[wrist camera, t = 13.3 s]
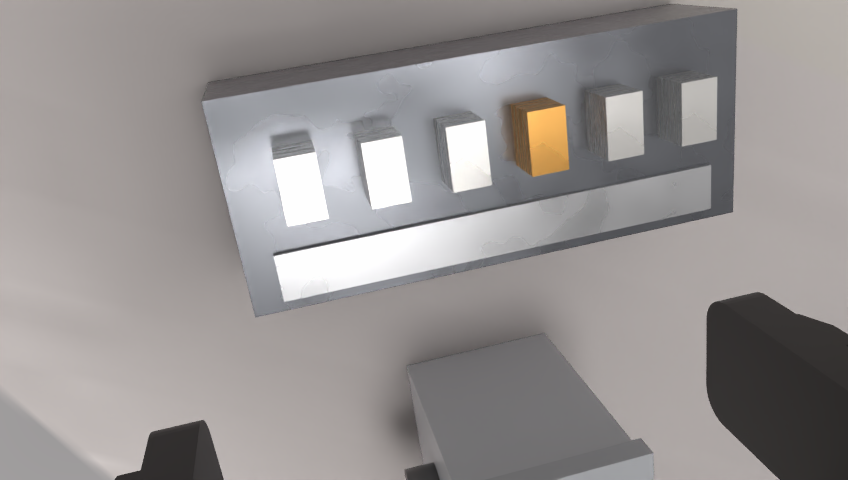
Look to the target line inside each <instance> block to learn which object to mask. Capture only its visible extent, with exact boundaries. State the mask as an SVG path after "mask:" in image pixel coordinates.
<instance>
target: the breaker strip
mask: <svg viewBox="0 0 848 480" xmlns="http://www.w3.org/2000/svg"><path fill="white" fill-rule="evenodd" d="M736 38H737V9H733V8H720V7H706V6H693V5H680V4H668V5H662V6H656V7H650V8H644V9H638V10H632V11H626V12H620V13H615V14H609V15H603V16H597V17H591V18H585V19H579V20H573V21H567V22H561V23H556V24H550V25H544V26H538V27H532V28H526V29H520V30H514V31H508V32H502V33H497V34H491V35H485V36H479V37H473V38H467V39H461V40H455V41H449V42H443V43H438V44H432V45H426V46H420V47H414V48H408V49H402V50H396V51H390V52H384V53H379V54H373V55H367V56H361V57H355V58H349V59H343V60H337V61H331V62H325V63H320V64H314V65H308V66H302V67H296V68H290V69H284V70H278V71H272V72H266V73H260V74H255V75H249V76H243V77H237V78H231V79H225V80H219V81H213V82H209V83H208V85H207V88H206V91H205V93H204V96H203V99H202V101H201V102H202V106H203V110H204V114H205V118H206V122H207V126H208V130H209V134H210V138H211V142H212V146H213V150H214V154H215V158H216V162H217V166H218V170H219V174H220V178H221V182H222V186H223V190H224V194H225V198H226V202H227V206H228V210H229V214H230V218H231V222H232V226H233V230H234V234H235V238H236V242H237V246H238V250H239V254H240V258H241V262H242V266H243V270H244V274H245V278H246V282H247V286H248V290H249V294H250V298H251V302H252V306H253V310H254V314H255V317H259V316H264V315H268V314H273V313H277V312H282V311H286V310H291V309H295V308H300V307H304V306H309V305H314V304H318V303H323V302H327V301H332V300H336V299H341V298H345V297H350V296H354V295H359V294H363V293H368V292H372V291H377V290H382V289H386V288H391V287H395V286H400V285H404V284H409V283H413V282H418V281H422V280H427V279H431V278H436V277H441V276H445V275H450V274H454V273H459V272H463V271H468V270H472V269H477V268H481V267H486V266H490V265H495V264H499V263H504V262H509V261H513V260H518V259H522V258H527V257H531V256H536V255H540V254H545V253H549V252H554V251H558V250H563V249H568V248H572V247H577V246H581V245H586V244H590V243H595V242H599V241H604V240H608V239H613V238H617V237H622V236H627V235H631V234H636V233H640V232H645V231H649V230H654V229H658V228H663V227H667V226H672V225H676V224H681V223H685V222H690V221H695V220H699V219H704V218H708V217H713V216H717V215H722V214H726V213H731V212H733V182H734V134H735V86H736Z"/></svg>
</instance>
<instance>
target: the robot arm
mask: <svg viewBox="0 0 848 480" xmlns="http://www.w3.org/2000/svg"><path fill="white" fill-rule="evenodd" d="M706 384H707V393H708V398H709V401H710V404H711V406H712V409H713V411H714V413H715V415H716V416H717V418H718V419H719V421H720V422H721V423H722V424H723V425H724V426H725V427H726V428H727V429H728V430H729V431H730V432H731V433H732V434H733V435H734V436H735V437H736V438H737V439H738V440H739V441H740V442H741V443H742V444H743V445H744V446H745V447H747V448H748V449H749V450H750V451H751V452H752V453H753V454H754V455H755V456H756V457H757V458H758V459H759V460H760V461H761V462H762V463H763V464H764V465H765V466H766V467H767V468H768V469H769V470H770V471H771V472H772V473H773V474H774V475H775V476H776V477H778V478H779V479H780V480H848V334H846V333H845V332H843V331H842V330H840V329H838V328H837V327H835V326H833V325H830V324H827V323H824V322H821V321H818V320H815V319H812V318H809V317H806V316H803V315H800V314H795V313H794V312H792V311H790V310H789V309H787V308H786V307H784V306H782V305H781V304H779V303H778V302H776V301H775V300H773V299H771V298H770V297H768V296H767V295H765V294H763V293H759V292H756V293H751V294H747V295H743V296H739V297H734V298H730V299H726V300H721V301H717V302H714V303H712V304H711V305H710V307H709V309H708V313H707V372H706ZM115 480H224V479H223V476H222V472H221V469H220V465H219V462H218V458H217V455H216V452H215V448H214V445H213V441H212V438H211V435H210V431H209V429H208V426H207V424H206V423H205V421H204V420H201V421H196V422H192V423H188V424H183V425H179V426H175V427H171V428H166V429H162V430H158V431H153V432H151V433H150V435H149V438H148V443H147V447H146V451H145V455H144V459H143V463H142V468H141V470H140V471H136V472H132V473H128V474H124V475H119V476H117V477H116V478H115Z"/></svg>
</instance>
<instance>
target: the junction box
mask: <svg viewBox="0 0 848 480" xmlns="http://www.w3.org/2000/svg"><path fill="white" fill-rule="evenodd" d="M407 371H408V377H409V383H410V389H411V395H412V401H413V406H414V412H415V418H416V424H417V430H418V436H419V442H420V448H421V454H422V460H423V465H420V466H417V467H413V468H409V469H405V477H406V480H654V458H653V452H652V451H651V450H650V448H649V447H648V446H647V445H646V444H645V442H644V441H643V440H642V439H641V438H639V439H636V440H631V439H630V438H629V436H628V435H627V434H626V433H625V431H624V430H623V429H622V428H621V427H620V425H619V424H618V423H617V422H616V420H615V419H614V418H613V417H612V415H611V414H610V413H609V412H608V411H607V409H606V408H605V407H604V406H603V404H602V403H601V402H600V401H599V399H598V398H597V397H596V396H595V395H594V393H593V392H592V391H591V390H590V388H589V387H588V386H587V385H586V383H585V382H584V381H583V380H582V379H581V377H580V376H579V375H578V374H577V372H576V371H575V370H574V369H573V368H572V366H571V365H570V364H569V363H568V361H567V360H566V359H565V358H564V356H563V355H562V354H561V353H560V352H559V350H558V349H557V348H556V347H555V345H554V344H553V343H552V342H551V340H550V339H549V338H548V337H547V336H546V334H545V333H542V334H538V335H534V336H530V337H526V338H521V339H517V340H513V341H509V342H505V343H500V344H496V345H492V346H488V347H484V348H479V349H475V350H471V351H467V352H463V353H458V354H454V355H450V356H446V357H442V358H437V359H433V360H429V361H425V362H421V363H416V364H412V365H408V366H407Z"/></svg>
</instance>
